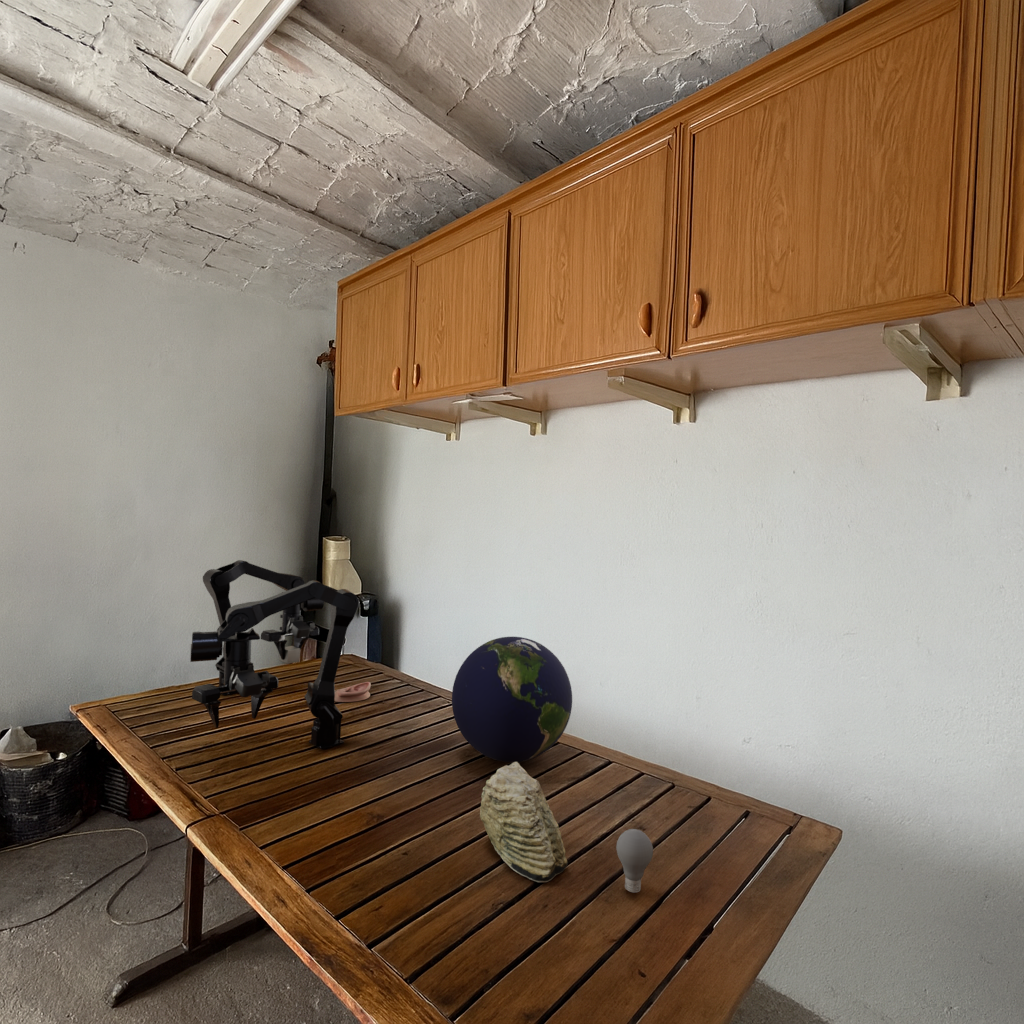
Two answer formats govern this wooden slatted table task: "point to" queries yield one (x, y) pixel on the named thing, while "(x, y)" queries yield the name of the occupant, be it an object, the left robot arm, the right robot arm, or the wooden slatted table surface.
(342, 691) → the anatomical model
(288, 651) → the block
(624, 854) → the light bulb
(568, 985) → the wooden slatted table surface
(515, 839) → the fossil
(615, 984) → the wooden slatted table surface
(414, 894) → the wooden slatted table surface
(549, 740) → the globe
